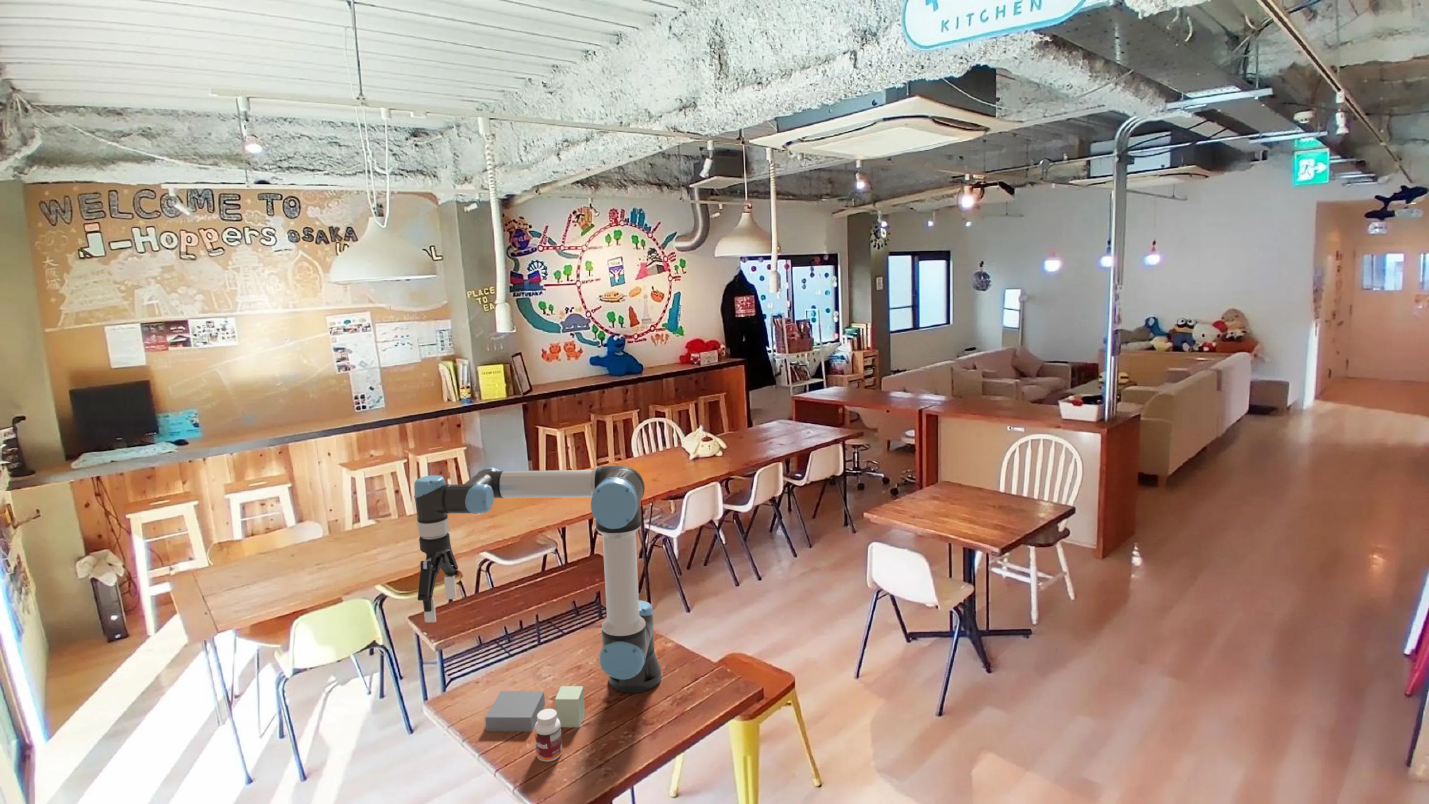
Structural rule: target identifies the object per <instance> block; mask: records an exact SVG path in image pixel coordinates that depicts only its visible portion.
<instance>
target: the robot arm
mask: <svg viewBox="0 0 1429 804" xmlns="http://www.w3.org/2000/svg"><path fill="white" fill-rule="evenodd" d="M413 485H414V486H413V487H414V488H413V489H414V496H413V497H414V501H415V503H414V504H415V508H416V509H415V510H416V520H417V522H416V526H417V529H418V536H419V537H418V541H419V549H420V551H421V552H422V553H424V554H425V555H426V558H425V560H421V561H420V562H419V563H420V565H419V567H420V574H419V581H418V582H419V583H418V592H417V600H418V601H422V604H423V605H422V606H423V607H422V608H423V615H424V618H423V619H424V623H436V622H437V612H436V602H435V597H433V596H434V591H435V590H434V589H435V585H436V581H437V575H438V574H440V570H442V571H443V574H445V575H444V576H443V579H444V590H445V598H446V600H457V597H458V595H457V586H456V585H457V584H456V576H458V575H459V570H458V569H459V565H458V563H457V560H456V558H455V556H454V552H453V550H452V545H451V544H452V543H451V537H450V533H449V532H450V526H449V517H448V514H473V515H478V514H485V513H488V512H490V511H491V510H492V506H493V505H494V500H495V499H533V498H536V499H543V498H544V499H547V498H548V499H549V498H550V499H552V498H553V499H554V498H556V499H557V498H558V499H559V498H561V499H562V498H567V499H568V498H570V499H571V498H591V500H590V510H591V515H592V516H593V518H594V521H595V529H596V531H597V532H598V533H600V534H601V535H602V536H601V537H602V550H603V567H604V571H603V573H604V587H605V590H604V591H605V603H606V605H605V607H606V619H605V620H604V621H602V623H601V639H602V643H601V644H602V645H601V646H602V649H601V650H600V652H599V665H600V667H601V669H602V671H603V672H604V673H605V674H607V675H608V683H609V685H610V687H612V688H613V689H614V690H616V691H619V692H621V693H628V694H634V693H635V694H637V693H638V694H639V693H643V692H646V691H648V690H651V689H653V688H655V687H656V686H658V684H659V683H661V680H662V666H661V665H660V663H659V660H658V657H657V654H656V652H655V634H654V614H655V613H654V611H653V606H652V604H651V603H650V602H648V601H645V600H640V599H639V598H640V597H639V579H638V578H639V577H638V576H639V575H638V558H637V531H639V529H640V528H641V527H642V517H641V514H642V513H641V511H642V510H641V501H642V499H643V497H644V494H645V489H646V487H645V481H644V479H643V477H642V475H641V474H640V473H639V472H638V470H636V469H634V468H633V467H630V466H627V465H597V466H595V467H594V468H593V469H568V470H567V469H564V470H563V469H562V470H561V469H560V470H559V469H558V470H557V469H555V470H500V469H498V468H496V467H486V468H483V469H481V470H480V471H478V472H477V473H476V474H475V475H474V476H472V477H471V478H470V479H468V480H467V481H466V482H464V483H463V484H449V483H447V484H446V481H445V478H444V476H442V475H436V474H435V475H434V474H433V475H427V476H426V475H425V476H422V477H420V478H417V479H416V480H415V481H414V484H413Z"/></svg>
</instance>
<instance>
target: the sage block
mask: <svg viewBox="0 0 1429 804" xmlns="http://www.w3.org/2000/svg"><path fill="white" fill-rule="evenodd" d="M554 700H555V701H554V703H555V711H556V712H557V718H558V719H559V721H560V725H561V728H581V725H582V723H583V720H584V718H585V715H586V710H585V709H586V707H585V706H586V705H585V691H584V686H582V685H581V686H579V685H578V686H577V685H572V686H567V685H561V686H560V688H559V690H558V692H557V694H556V696H555V699H554Z"/></svg>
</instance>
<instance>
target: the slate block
mask: <svg viewBox="0 0 1429 804" xmlns="http://www.w3.org/2000/svg"><path fill="white" fill-rule="evenodd" d="M545 705H546V701H545V691H544V690H500V691H499V692H498V695H497V697H496V698H495V700H494V701H493V703H492V705H491V707H490V708H489V710H488V712H487V714H486V715H485V716H484V717H485V718H484V720H485V729H486V732H520V733H521V732H525V733H526V732H528V733H529V732H533V731H534V730H535V724H536V722H537V714H538V713H539V712H540V711H542V710H544V707H545Z"/></svg>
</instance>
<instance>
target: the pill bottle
mask: <svg viewBox="0 0 1429 804" xmlns="http://www.w3.org/2000/svg"><path fill="white" fill-rule="evenodd" d="M534 736H535V738H534V739H535V750H536V751H535V752H536V753H535V754H536V758H537V759H538V760H539V761H541V762H546V763H547V762H548V763H549V762H553V761H556V760H557V759H559V757H560V756H561V755H562V753H563V743H562V742H563V741H562V727H561V725H560V721H559V719H558V718H557V712H556V709H553V708H545V709H544V708H543V710H542V711H540V712H539V713H538V714H537V722H536V724H535V727H534Z"/></svg>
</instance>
